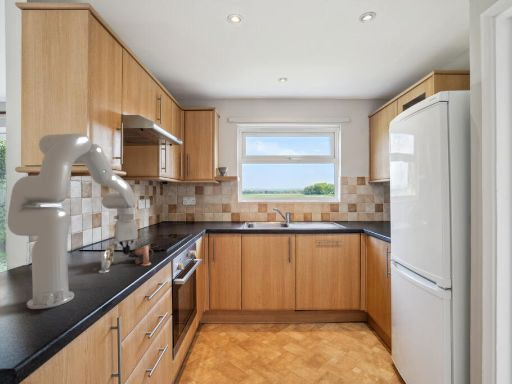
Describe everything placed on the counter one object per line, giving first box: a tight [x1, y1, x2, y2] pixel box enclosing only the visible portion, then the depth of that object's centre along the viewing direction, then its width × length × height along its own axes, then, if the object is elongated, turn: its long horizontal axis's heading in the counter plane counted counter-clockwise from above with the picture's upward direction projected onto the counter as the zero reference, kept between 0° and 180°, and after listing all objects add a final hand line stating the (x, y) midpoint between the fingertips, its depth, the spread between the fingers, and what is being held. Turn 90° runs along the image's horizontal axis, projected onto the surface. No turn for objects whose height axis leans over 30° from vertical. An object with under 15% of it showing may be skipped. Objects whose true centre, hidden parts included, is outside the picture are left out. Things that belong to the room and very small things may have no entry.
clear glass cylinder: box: [98, 250, 111, 274], centre depth 123 cm, size 4×4×9 cm
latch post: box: [140, 245, 152, 267], centre depth 134 cm, size 4×4×9 cm
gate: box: [105, 245, 115, 269], centre depth 133 cm, size 18×2×8 cm, turn 18°
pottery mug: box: [128, 246, 155, 265], centre depth 141 cm, size 12×10×8 cm
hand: (126, 254), depth 137 cm, fingers closed
